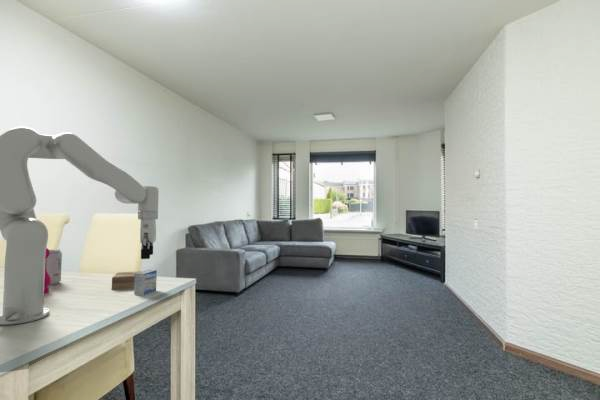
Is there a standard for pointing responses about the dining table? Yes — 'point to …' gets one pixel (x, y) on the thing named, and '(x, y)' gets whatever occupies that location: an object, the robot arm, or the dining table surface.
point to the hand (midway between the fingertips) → (147, 256)
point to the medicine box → (145, 282)
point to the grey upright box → (54, 266)
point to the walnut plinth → (124, 280)
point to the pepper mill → (46, 273)
